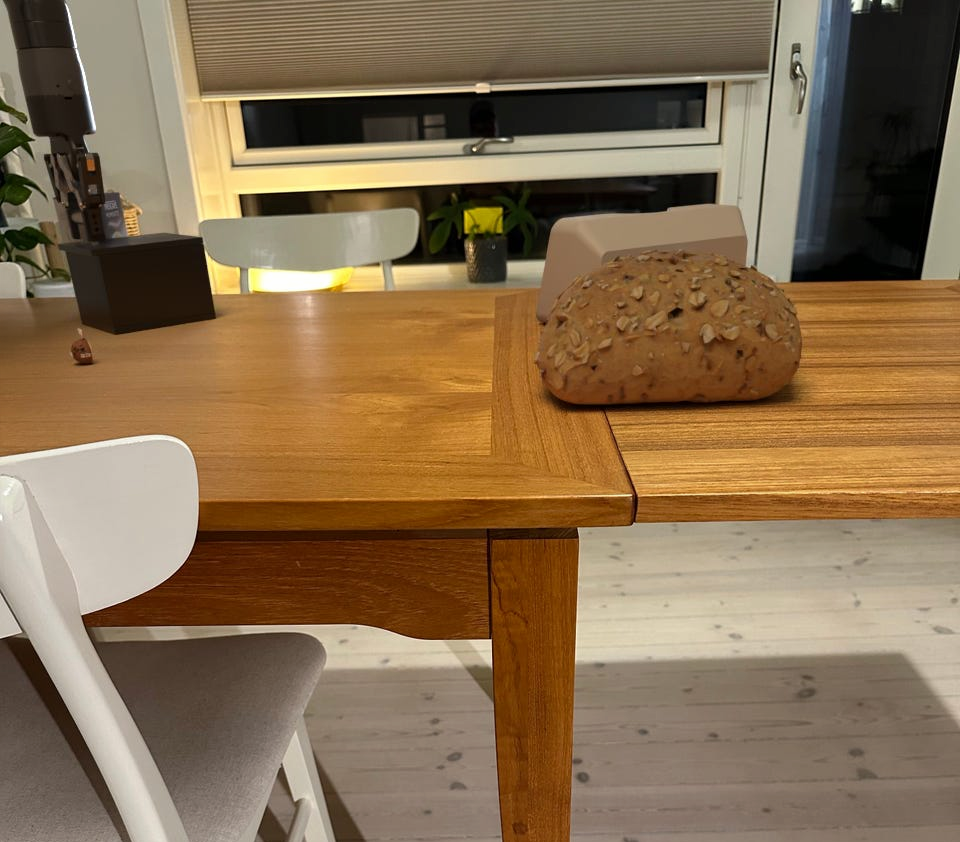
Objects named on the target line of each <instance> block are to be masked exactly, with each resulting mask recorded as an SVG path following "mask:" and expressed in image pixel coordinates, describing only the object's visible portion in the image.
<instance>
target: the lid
mask: <svg viewBox="0 0 960 842" xmlns="http://www.w3.org/2000/svg"><path fill="white" fill-rule="evenodd" d="M81 211H84V210H73V211H72V212H71V220H72V221H73V222H74V223H75V224H77V227H78V232H79V236H80V242H71V243H63V242H61V243H58V244H57V249H58V250H59V251H62V252H65V251H67V252H73V253H78V254H83V255H89V256H99V255H107V254H116V253H125V252H133V251H142V250H151V249H159V248H168V247H177V246H185V245H194V244H204V238H203V236H196V235H188V234H179V233H171V232H156V233H155V232H154V233H148V234H137V235H128V236H127V237H118V238H108V239H105V240H104V241H98V242H89V241H87V238H86V233H85V229H84V224H83V220H82V215H81Z"/></svg>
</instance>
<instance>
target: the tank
mask: <svg viewBox="0 0 960 842" xmlns="http://www.w3.org/2000/svg"><path fill="white" fill-rule="evenodd" d="M748 240H749V239H748V235H747V231H746V227H745V222H744V219H743V214H742V211H741V209H740V208H739V207H738V205H733V204H732V205H731V204H719V203H702V204H692V205H682V206H672V207H668V208H667V210H665V211H658V212H657V211H656V212H644V213H601V214H591V215H580V216H571V217H570V216H569V217H562V218H560V219H558V220H557V221H556V222H554V224H553V226H552V227H551V230H550V234H549V239H548V245H547V250H546V251H547V252H546V255H545V261H544V266H543V272H542V278H541V281H540V288H539V293H538V299H537V305H536V310H535V318H536V320H537V321H538V322H540V323H542V324H546V321H547V318H548V316H549V314H550V312H551V309H552V306H553V303H554V302H555V300H558V299H557V296H558V295H559V294H560V293H561V292H562V291H563V290H565V289H566V288H567V287H568V286H569V285H570V284H571V283H572V281H573V280H574V279H575V278H576V277H577V276H578V275H581V276H584V275H585V274H586V273H588V272H589V271H591V270H593V269H595V268H596V267H598V266H600V265H603V264H605V263H609V262H610V261H612V260H613V259H615V258H616V257H618V256H619V255H620V256H619V259H620V257H627V256H629V255H632V256H631V257H634V256H638V255H640V254H641V253H642V252H645V251H650V250H657V251H660V250H673V249H675V250H677V249H682V250H685V249H689V250H697V251H701V252H705V253H708V254H712V253H713V252H714V253H716V254H718V255H720V256H721V255H722V256H725V257H727V259H728V260H734V262H736V263H740V264H742V265H743V266H746V267H747V257H748V256H747V255H748V247H749V246H748V244H749V241H748ZM619 259H618V260H619Z"/></svg>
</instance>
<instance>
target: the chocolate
mask: <svg viewBox="0 0 960 842" xmlns="http://www.w3.org/2000/svg"><path fill="white" fill-rule="evenodd" d="M77 332H78V334H79V335H80V338H79V339H77V340H75V341H74V342H73V343H71V347H70V351H69V354H70V356H71V357H72V358H73V359H74V361H76V362H78V363H81V364H84V365H85V364H92V363H93V362H94V355H93V348H92V346H91V344H90V342H89V340H88V339H87V338H85V337H84V335H83V330H82V329H80V328H77Z"/></svg>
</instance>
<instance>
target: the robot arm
mask: <svg viewBox="0 0 960 842" xmlns="http://www.w3.org/2000/svg"><path fill="white" fill-rule="evenodd" d="M2 3H3V4H4V6H5V8H6V12H7V16H8V21H9V24H10V25H9V26H10V29H11V34H12V38H13V42H14V46H15V50H16V51H15V52H16V57H17V67H18V74H19V78H20V82H21V86H22V92H23V95H24V99H25V103H26V109H27V112H28V118H29V121H30V124H31V129H32V130H31V131H32V133H33V134H34V135H35V137H38V138H47V137H48V138H49V145H50V153H44V154H43V161H44V163H45V167H46V170H47V173H48V177H49V179H50V184H51V186H52V190H53V194H54V197H55V198H56V200H57V202H58V203H61V204H62V206H63V208H64V209H66V214H67V218H68V223H69V227H70V232H71V236H72V238H73V239H77V240H78V239H80V236H79V232H78V227H77V224H75V223H74V222H73V221H72V220H71V212H72V211H73V210H84V211H81V215H82V220H83V224H84V229H85V233H86V238H87V240H88V241H89V242H98V241H104V240H105V234H104V229H103V224H102V220H101V215H100V210H98V209H101V204H105V195H104V193H105V187H104V180H103V173H102V172H103V171H102V166H101V157H100V155H99V153H98V152H90V151H89V148H88V145H87V143H86V142H87V141H86V140H85V136H90V135H91V136H92V135H94V134H96V132H97V127H96V122H95V117H94V113H93V112H94V111H93V107H92V103H91V97H90V93H89V89H88V84H87V83H88V82H87V79H86V74H85V70H84V67H83V63H82V60H81V58H80V54H79V51H78V45H77V41H76V37H75V31H74V26H73V22H72V17H71V12H70V10H69V6H68V3H67V1H66V0H2Z"/></svg>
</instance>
